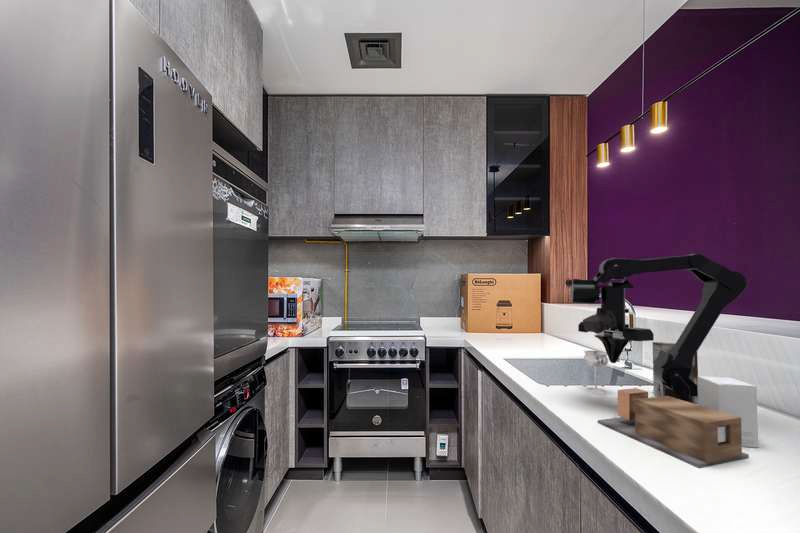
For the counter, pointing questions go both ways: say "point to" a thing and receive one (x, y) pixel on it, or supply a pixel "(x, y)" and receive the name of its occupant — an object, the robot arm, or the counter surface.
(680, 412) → the housing
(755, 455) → the counter surface
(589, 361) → the wineglass
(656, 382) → the coffee box
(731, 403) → the supplement box
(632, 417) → the shaft
